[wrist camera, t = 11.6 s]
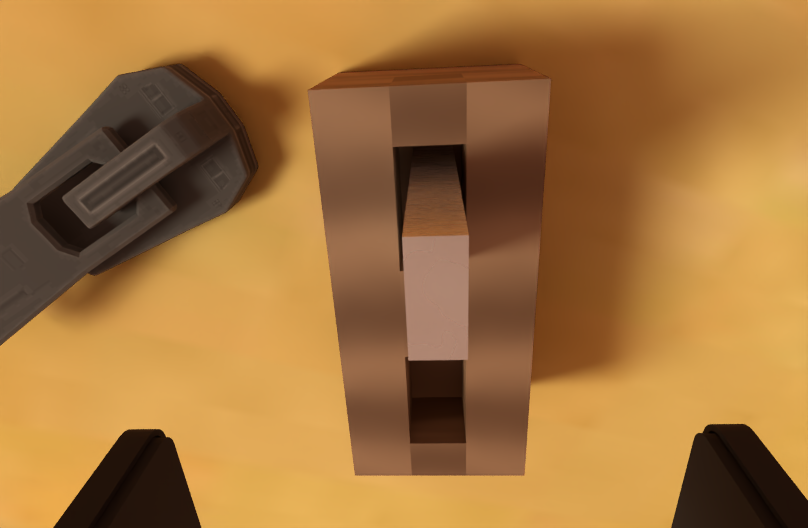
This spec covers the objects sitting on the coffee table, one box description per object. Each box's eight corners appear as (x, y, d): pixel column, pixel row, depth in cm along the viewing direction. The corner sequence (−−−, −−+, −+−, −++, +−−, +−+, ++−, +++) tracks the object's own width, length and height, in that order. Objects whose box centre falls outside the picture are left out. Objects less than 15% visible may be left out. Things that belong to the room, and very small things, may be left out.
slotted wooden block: (338, 72, 29) (307, 90, 22) (519, 63, 28) (551, 78, 21) (369, 389, 38) (354, 475, 31) (506, 387, 37) (524, 475, 30)
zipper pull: (-195, 299, 29) (114, 41, 22) (-88, 252, 35) (181, 37, 28) (-61, 407, 32) (245, 208, 26) (16, 347, 38) (280, 172, 32)
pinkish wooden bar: (413, 148, 26) (402, 237, 16) (452, 146, 26) (468, 235, 15) (416, 230, 28) (408, 360, 17) (453, 229, 28) (467, 359, 17)
